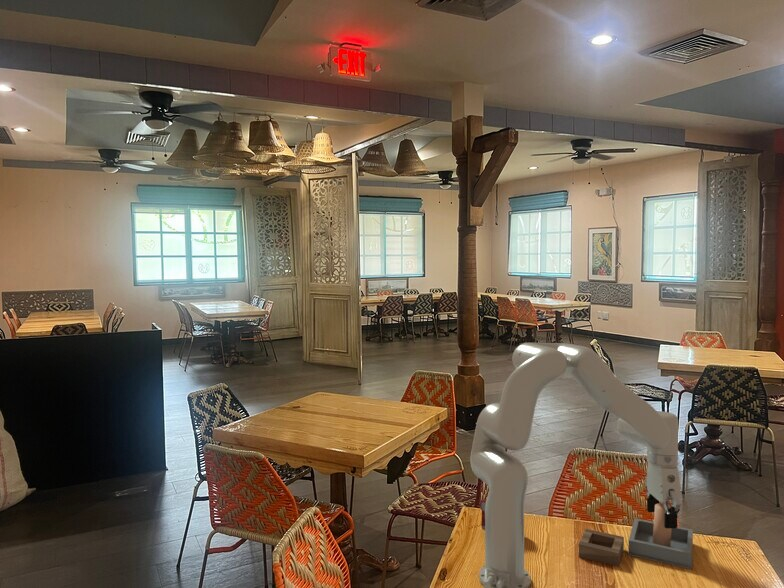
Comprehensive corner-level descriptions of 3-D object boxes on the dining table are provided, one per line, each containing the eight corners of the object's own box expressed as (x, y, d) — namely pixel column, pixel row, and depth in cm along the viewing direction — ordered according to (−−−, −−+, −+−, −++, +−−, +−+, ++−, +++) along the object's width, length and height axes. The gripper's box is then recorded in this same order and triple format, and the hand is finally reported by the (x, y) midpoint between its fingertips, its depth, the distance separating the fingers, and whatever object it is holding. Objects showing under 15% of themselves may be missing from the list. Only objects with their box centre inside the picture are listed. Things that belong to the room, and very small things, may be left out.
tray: (691, 569, 141) (692, 553, 141) (628, 554, 148) (628, 540, 148) (692, 543, 154) (693, 529, 154) (634, 531, 161) (634, 518, 161)
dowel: (673, 550, 149) (676, 511, 148) (657, 550, 149) (659, 510, 148) (665, 541, 153) (667, 503, 152) (649, 541, 153) (651, 503, 152)
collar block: (618, 566, 143) (618, 553, 142) (578, 556, 147) (578, 544, 147) (623, 549, 151) (623, 536, 151) (585, 540, 156) (585, 528, 156)
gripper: (693, 469, 141) (692, 534, 142) (660, 447, 159) (659, 505, 159) (664, 469, 141) (663, 535, 142) (634, 447, 159) (633, 506, 159)
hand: (661, 519), depth 151 cm, fingers open, 9 cm apart
